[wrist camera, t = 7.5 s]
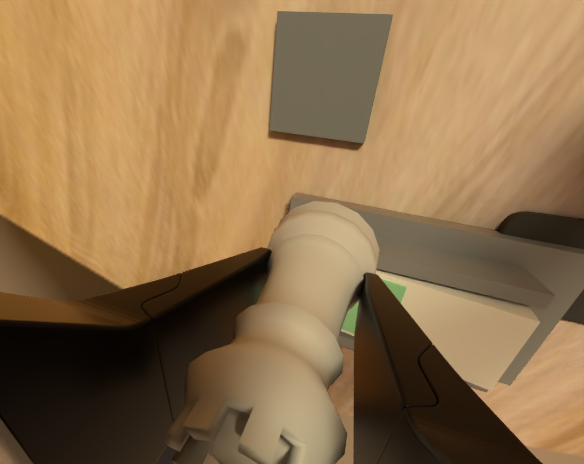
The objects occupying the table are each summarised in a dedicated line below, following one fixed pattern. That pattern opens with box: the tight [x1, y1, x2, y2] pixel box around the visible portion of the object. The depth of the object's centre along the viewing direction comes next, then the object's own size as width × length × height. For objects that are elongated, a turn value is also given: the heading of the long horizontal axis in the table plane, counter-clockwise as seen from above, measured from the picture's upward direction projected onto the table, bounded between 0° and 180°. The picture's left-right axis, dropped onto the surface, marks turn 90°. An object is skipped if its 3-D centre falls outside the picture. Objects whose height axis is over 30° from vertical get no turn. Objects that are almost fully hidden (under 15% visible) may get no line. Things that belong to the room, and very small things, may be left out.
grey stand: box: [289, 193, 584, 392], centre depth 19 cm, size 20×12×4 cm, turn 83°
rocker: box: [341, 269, 540, 391], centre depth 17 cm, size 12×6×2 cm, turn 83°
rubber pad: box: [270, 11, 393, 143], centre depth 16 cm, size 7×7×1 cm
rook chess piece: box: [165, 201, 379, 464], centre depth 7 cm, size 4×4×8 cm
